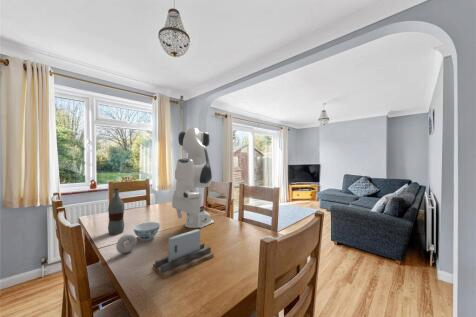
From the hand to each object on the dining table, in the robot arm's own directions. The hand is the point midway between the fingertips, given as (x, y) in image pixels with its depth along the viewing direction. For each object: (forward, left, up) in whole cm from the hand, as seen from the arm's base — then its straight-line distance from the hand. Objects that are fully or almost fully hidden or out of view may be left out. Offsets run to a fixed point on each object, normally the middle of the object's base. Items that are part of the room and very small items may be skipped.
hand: (185, 220), depth 95 cm
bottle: (+13, -66, -21) cm, 70 cm away
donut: (+17, -30, -21) cm, 40 cm away
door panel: (0, 0, -19) cm, 19 cm away
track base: (0, 0, -20) cm, 20 cm away
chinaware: (+2, -42, -21) cm, 47 cm away
